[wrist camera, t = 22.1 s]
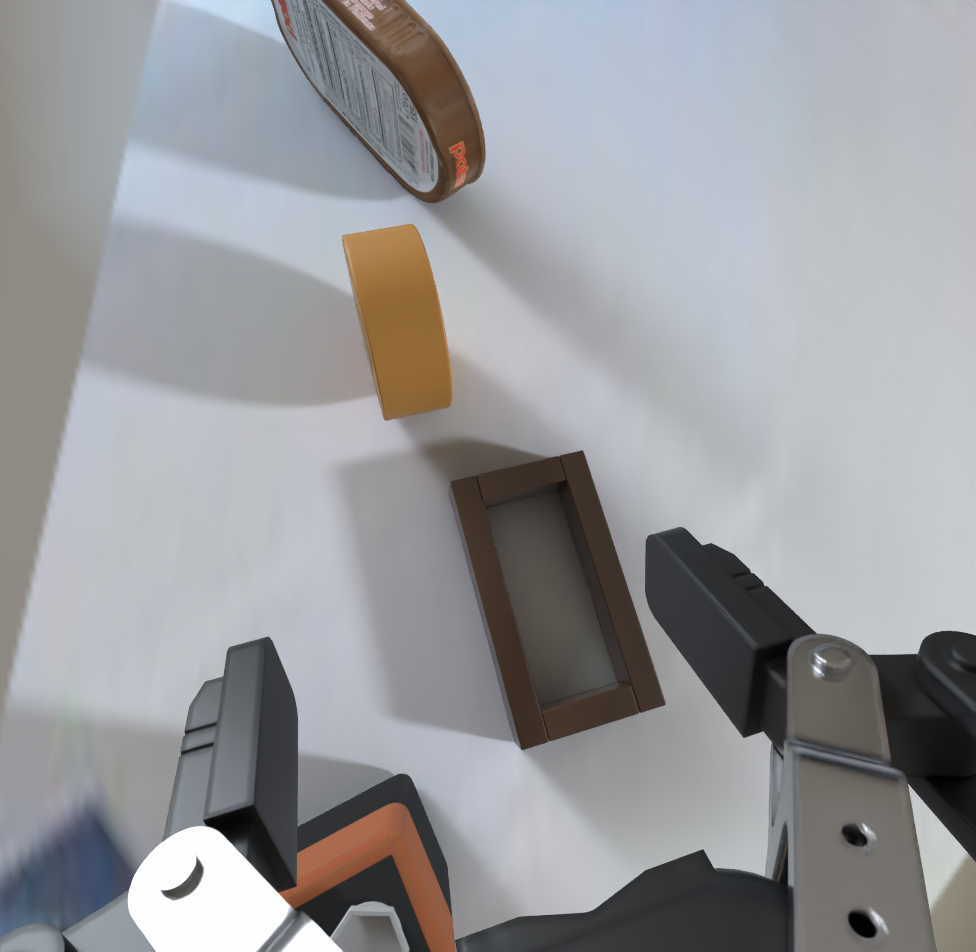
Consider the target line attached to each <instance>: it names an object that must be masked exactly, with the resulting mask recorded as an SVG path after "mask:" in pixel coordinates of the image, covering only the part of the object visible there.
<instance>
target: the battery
mask: <svg viewBox="0 0 976 952" xmlns="http://www.w3.org/2000/svg"><path fill="white" fill-rule="evenodd" d="M278 894H279V895H280V896H281V897H282V898H283V899H284V900H285V901H286V902H287V903H288V904H289V905H290V906H291V907H292V908H293V909H294V910H295V911H296V912H298V913H299V912H300V911H302V912H304V913H305V914H306V915H308V916H309V917H310V918H311V919H312V920H313V921H314V922H315V923H316V924H317V925H318V926H319V927H320V928H321V929H322V930H323V931H324V932H325V933H326V934H327V935H328V936H329V937H330V938H331V939H332V940H333V941H334V943H335V944H336V945H337V946H338V947H339V948H340V949H341V950H342V951H343V952H455V942H454V931H453V921H452V910H451V899H450V888H449V878H448V868H447V863H446V861H445V858H444V856H443V853H442V851H441V848H440V846H439V844H438V841H437V839H436V836H435V834H434V832H433V829H432V827H431V824H430V822H429V820H428V817H427V815H426V812H425V810H424V807H423V805H422V803H421V800H420V798H419V795H418V793H417V791H416V788H415V786H414V783H413V781H412V779H411V778H410V777H409V776H408V775H406V774H398V775H395V776H393V777H391V778H389V779H387V780H386V781H384V782H382V783H380V784H378V785H376V786H374V787H372V788H370V789H369V790H367V791H365V792H363V793H361V794H359V795H357V796H355V797H354V798H352V799H350V800H348V801H346V802H344V803H342V804H340V805H338V806H337V807H335V808H333V809H331V810H329V811H327V812H325V813H323V814H321V815H320V816H318V817H316V818H314V819H312V820H310V821H308V822H306V823H305V824H303V825H301V826H299V827H297V887H294V888H291V889H288V890H285V891H282V892H279V893H278Z"/></svg>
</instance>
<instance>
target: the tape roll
mask: <svg viewBox="0 0 976 952" xmlns="http://www.w3.org/2000/svg"><path fill="white" fill-rule="evenodd" d="M342 242H343V247H344V252H345V257H346V262H347V267H348V271H349V276H350V280H351V286H352V291H353V295H354V300H355V305H356V309H357V313H358V318H359V322H360V327H361V331H362V335H363V339H364V344H365V348H366V352H367V356H368V360H369V364H370V368H371V372H372V376H373V379H374V383H375V387H376V391H377V395H378V399H379V403H380V407H381V411H382V414H383V417H384V419H385V420H391V419H396V418H401V417H405V416H410V415H414V414H419V413H424V412H428V411H433V410H438V409H442V408H447V407H449V406H450V405H451V401H452V378H451V368H450V359H449V352H448V345H447V339H446V333H445V328H444V322H443V317H442V312H441V307H440V303H439V298H438V294H437V290H436V285H435V281H434V277H433V274H432V270H431V266H430V263H429V259H428V256H427V253H426V250H425V247H424V244H423V242H422V239H421V237H420V234H419V232H418V230H417V229H416V227H415V226H414V225H413V224H408V225H402V226H396V227H390V228H384V229H378V230H372V231H366V232H359V233H353V234H347V235H343V236H342Z"/></svg>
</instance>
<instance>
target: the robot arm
mask: <svg viewBox="0 0 976 952" xmlns="http://www.w3.org/2000/svg"><path fill="white" fill-rule="evenodd" d="M645 593H646V598H647V602H648V605H649V608H650V610H651V612H652V614H653V616H654V617H655V619H656V620H657V622H658V623H659V624H660V626H661V627H662V628H663V630H664V631H665V632H666V634H667V635H668V636H669V638H670V639H671V640H672V642H673V643H674V644H675V646H676V647H677V649H678V650H679V651H680V653H681V654H682V655H683V657H684V658H685V659H686V661H687V662H688V663H689V665H690V666H691V667H692V669H693V670H694V672H695V673H696V674H697V676H698V677H699V678H700V680H701V681H702V682H703V684H704V685H705V686H706V688H707V689H708V690H709V692H710V693H711V695H712V696H713V697H714V699H715V700H716V701H717V703H718V704H719V705H720V707H721V708H722V709H723V711H724V712H725V713H726V715H727V716H728V717H729V719H730V720H731V722H732V723H733V724H734V726H735V727H736V728H737V730H738V731H739V732H740V734H741V735H742V736H743V738H745V737H748V736H751V735H754V734H757V733H760V732H763V731H764V733H765V734H766V735H767V736H768V738H769V739H770V740H771V741H772V744H771V751H770V786H769V829H768V850H767V860H766V869H765V877H764V876H761V875H758V874H755V873H751V872H746V871H741V870H735V869H723V868H716V869H714V868H713V866H712V864H711V862H710V860H709V859H708V857H707V855H706V853H705V852H704V850H700V851H697V852H694V853H692V854H689V855H686V856H684V857H681V858H678V859H675V860H673V861H670V862H667V863H664V864H662V865H659V866H656V867H654V868H651V869H648V870H645V871H644V872H643V873H642V874H640V875H639V876H638V877H636V878H635V879H634V880H632V881H631V882H630V883H628V884H627V885H626V886H625V887H623V888H622V889H621V890H619V891H618V892H617V893H615V894H614V895H613V896H612V897H610V898H609V899H608V900H606V901H605V902H604V903H602V904H601V905H600V906H599V907H597V908H596V909H594V910H592V911H590V912H586V913H574V914H557V915H540V916H524V917H517V918H515V919H512V920H509V921H506V922H504V923H501V924H498V925H496V926H493V927H490V928H487V929H485V930H482V931H479V932H476V933H474V934H471V935H468V936H466V937H463V938H460V939H457V940H455V943H456V948H457V952H937V951H936V945H935V939H934V933H933V928H932V922H931V916H930V910H929V904H928V898H927V893H926V887H925V881H924V875H923V869H922V863H921V857H920V852H919V846H918V840H917V834H916V828H915V822H914V817H913V811H912V805H911V799H910V793H909V787H908V784H909V785H910V786H911V788H912V789H913V790H914V791H915V792H916V793H917V794H918V796H919V797H920V798H921V799H922V800H923V801H924V803H925V804H926V805H927V806H928V807H929V808H930V809H931V811H932V812H933V813H934V814H935V815H936V816H937V818H938V819H939V820H940V821H941V822H942V823H943V824H944V826H945V827H946V828H947V829H948V830H949V831H950V833H951V834H952V835H953V836H954V837H955V838H956V840H957V841H958V842H959V843H960V844H961V845H962V846H963V848H964V849H965V850H966V851H967V852H968V853H969V855H970V856H971V857H972V858H973V859H974V860H975V861H976V636H975V635H972V634H968V633H963V632H957V631H941V632H936V633H933V634H930V635H929V636H927V637H926V638H925V639H924V640H923V641H922V643H921V646H920V649H919V652H918V654H901V655H868V654H867V653H866V652H865V651H864V650H863V649H861V648H860V647H859V646H857V645H855V644H854V643H852V642H850V641H847V640H845V639H843V638H840V637H837V636H832V635H826V634H817V633H816V632H814V631H813V630H812V629H811V628H810V627H809V626H808V625H807V624H806V623H805V622H804V621H803V620H802V619H801V618H800V617H799V616H798V615H797V614H796V613H795V612H794V611H793V610H792V609H790V608H789V607H788V606H787V605H786V604H785V603H784V602H783V601H782V600H781V599H780V598H779V597H778V596H777V595H776V594H775V593H774V592H773V591H772V590H771V589H770V588H769V587H767V586H764V583H763V582H762V581H761V580H760V579H759V578H758V577H757V576H756V575H755V574H754V573H751V572H750V569H749V568H748V567H747V566H746V565H745V564H743V563H742V562H741V561H740V560H739V559H738V558H737V557H736V556H735V555H734V554H732V553H730V552H728V551H726V550H724V549H722V548H720V547H718V546H716V545H714V544H712V543H710V544H706V545H703V546H702V545H701V544H700V543H699V542H698V541H697V540H696V539H695V538H694V537H693V536H692V535H691V534H690V533H689V532H688V531H687V530H686V529H685V528H683V527H678V528H674V529H671V530H667V531H663V532H660V533H656V534H652V535H649V536H648V537H647V539H646V554H645ZM297 795H298V714H297V707H296V702H295V697H294V693H293V690H292V688H291V685H290V683H289V680H288V678H287V675H286V673H285V670H284V668H283V666H282V663H281V661H280V658H279V656H278V653H277V651H276V649H275V646H274V644H273V642H272V640H271V639H270V637H265V638H261V639H258V640H254V641H250V642H246V643H243V644H239V645H235V646H232V647H229V649H228V651H227V656H226V663H225V669H224V676H223V677H220V678H217V679H213V680H210V681H206V682H205V683H204V684H203V686H202V687H201V689H200V691H199V692H198V694H197V695H196V697H195V698H194V700H193V702H192V703H191V705H190V706H189V711H188V716H187V721H186V726H185V736H184V737H183V742H182V747H181V757H179V762H178V767H177V772H176V777H175V782H174V787H173V792H172V797H171V802H170V808H169V813H168V818H167V823H166V828H165V833H164V837H163V840H162V843H161V844H160V845H159V846H157V847H156V848H155V849H154V850H153V851H152V852H151V853H150V854H149V855H148V857H147V858H146V859H145V860H144V861H143V863H142V864H141V866H140V867H139V869H138V871H137V872H136V874H135V876H134V878H133V881H132V884H131V887H130V888H129V889H128V890H127V891H125V892H124V893H123V894H122V895H120V896H119V897H118V898H116V899H115V900H113V901H112V902H110V903H109V904H107V905H105V906H104V907H102V908H101V909H99V910H98V911H96V912H94V913H93V914H91V915H90V916H88V917H86V918H85V919H83V920H82V921H80V922H78V923H77V924H75V925H74V926H72V927H71V928H69V929H67V930H66V931H64V932H63V933H61V932H60V931H59V930H58V929H57V928H55V927H54V926H52V925H49V924H45V923H36V924H30V925H26V926H23V927H20V928H18V929H16V930H14V931H11V932H10V933H8V934H6V935H5V936H3V937H1V938H0V952H343V951H342V950H341V949H340V948H339V947H338V946H337V945H336V944H335V943H334V941H333V940H332V939H331V938H330V937H329V936H328V935H327V934H326V933H325V932H324V931H323V930H322V929H321V928H320V927H319V926H318V925H317V924H316V923H315V922H314V921H313V920H312V919H311V918H310V917H309V916H308V915H306V914H305V913H304V912H302V911H300V912H299V913H298V912H296V911H295V910H294V909H293V908H292V907H291V906H290V905H289V904H288V903H287V902H286V901H285V900H284V899H283V898H282V897H281V896H280V895H279V894H278V893H279V892H282V891H285V890H288V889H291V888H294V887H297Z"/></svg>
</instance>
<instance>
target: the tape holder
mask: <svg viewBox="0 0 976 952" xmlns="http://www.w3.org/2000/svg"><path fill="white" fill-rule="evenodd" d="M557 490H558V491H559V494H560V498H561V501H562V504H563V507H564V510H565V514H566V517H567V520H568V523H569V527H570V530H571V533H572V536H573V539H574V543H575V546H576V549H577V552H578V555H579V559H580V562H581V565H582V568H583V572H584V575H585V578H586V581H587V584H588V588H589V591H590V594H591V597H592V601H593V604H594V607H595V610H596V613H597V617H598V620H599V623H600V626H601V630H602V633H603V636H604V639H605V642H606V646H607V649H608V652H609V655H610V658H611V662H612V665H613V668H614V671H615V675H616V678H617V681H618V683H613V684H610V685H607V686H603V687H600V688H597V689H593V690H590V691H587V692H584V693H580V694H577V695H574V696H571V697H567V698H564V699H561V700H557V701H554V702H551V703H548V704H544V705H541V706H539V702H538V699H537V695H536V692H535V688H534V684H533V681H532V677H531V674H530V670H529V666H528V663H527V659H526V656H525V652H524V648H523V645H522V641H521V638H520V634H519V630H518V627H517V623H516V620H515V616H514V612H513V609H512V605H511V602H510V598H509V594H508V591H507V587H506V584H505V580H504V576H503V573H502V569H501V565H500V562H499V558H498V555H497V551H496V547H495V544H494V540H493V537H492V533H491V529H490V526H489V522H488V519H487V515H486V511H485V508H489V507H493V506H497V505H501V504H505V503H509V502H513V501H517V500H521V499H525V498H529V497H534V496H538V495H542V494H546V493H550V492H554V491H557ZM449 496H450V499H451V503H452V507H453V511H454V514H455V518H456V522H457V526H458V530H459V533H460V537H461V541H462V545H463V549H464V552H465V556H466V560H467V564H468V567H469V571H470V575H471V579H472V583H473V586H474V590H475V594H476V598H477V602H478V605H479V609H480V613H481V617H482V621H483V624H484V628H485V632H486V636H487V639H488V643H489V647H490V651H491V655H492V658H493V662H494V666H495V670H496V674H497V677H498V681H499V685H500V689H501V692H502V696H503V700H504V704H505V708H506V711H507V715H508V719H509V723H510V727H511V730H512V734H513V738H514V742H515V743H516V745H517V746H518V747H519V748H520V749H521V750H525V749H528V748H531V747H534V746H538V745H541V744H544V743H547V742H548V741H553V740H557V739H560V738H563V737H566V736H569V735H572V734H576V733H579V732H582V731H585V730H588V729H591V728H595V727H598V726H601V725H604V724H607V723H610V722H614V721H617V720H620V719H623V718H626V717H629V716H633V715H636V714H638V713H639V712H640V713H642V712H645V711H648V710H652V709H655V708H658V707H661V706H664V705H666V702H665V699H664V696H663V693H662V690H661V687H660V684H659V681H658V678H657V675H656V672H655V669H654V666H653V663H652V660H651V656H650V653H649V650H648V647H647V644H646V641H645V638H644V635H643V632H642V629H641V626H640V623H639V620H638V617H637V614H636V611H635V608H634V604H633V601H632V598H631V595H630V592H629V589H628V586H627V583H626V580H625V577H624V574H623V571H622V568H621V565H620V562H619V559H618V556H617V552H616V549H615V546H614V543H613V540H612V537H611V534H610V531H609V528H608V525H607V522H606V519H605V516H604V513H603V510H602V507H601V503H600V500H599V497H598V494H597V491H596V488H595V485H594V482H593V479H592V476H591V473H590V470H589V467H588V464H587V461H586V458H585V455H584V451H582V450H581V451H577V452H573V453H569V454H564V455H560V456H556V457H552V458H548V459H543V460H539V461H535V462H531V463H527V464H522V465H518V466H514V467H510V468H506V469H501V470H497V471H493V472H489V473H485V474H480V475H477V476H476V477H475V476H472V477H468V478H464V479H460V480H455V481H452V482H451V483H450V490H449Z"/></svg>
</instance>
